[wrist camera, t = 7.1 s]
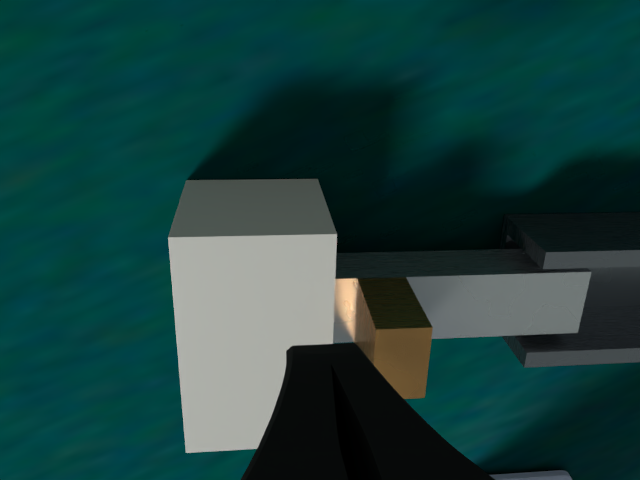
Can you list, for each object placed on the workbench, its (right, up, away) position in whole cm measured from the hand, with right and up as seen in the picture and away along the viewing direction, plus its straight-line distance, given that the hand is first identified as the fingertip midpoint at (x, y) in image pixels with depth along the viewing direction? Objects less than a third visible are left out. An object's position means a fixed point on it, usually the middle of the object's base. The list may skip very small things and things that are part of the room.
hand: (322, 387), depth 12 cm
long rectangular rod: (+3, +1, +10) cm, 11 cm away
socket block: (-2, +2, +10) cm, 11 cm away
